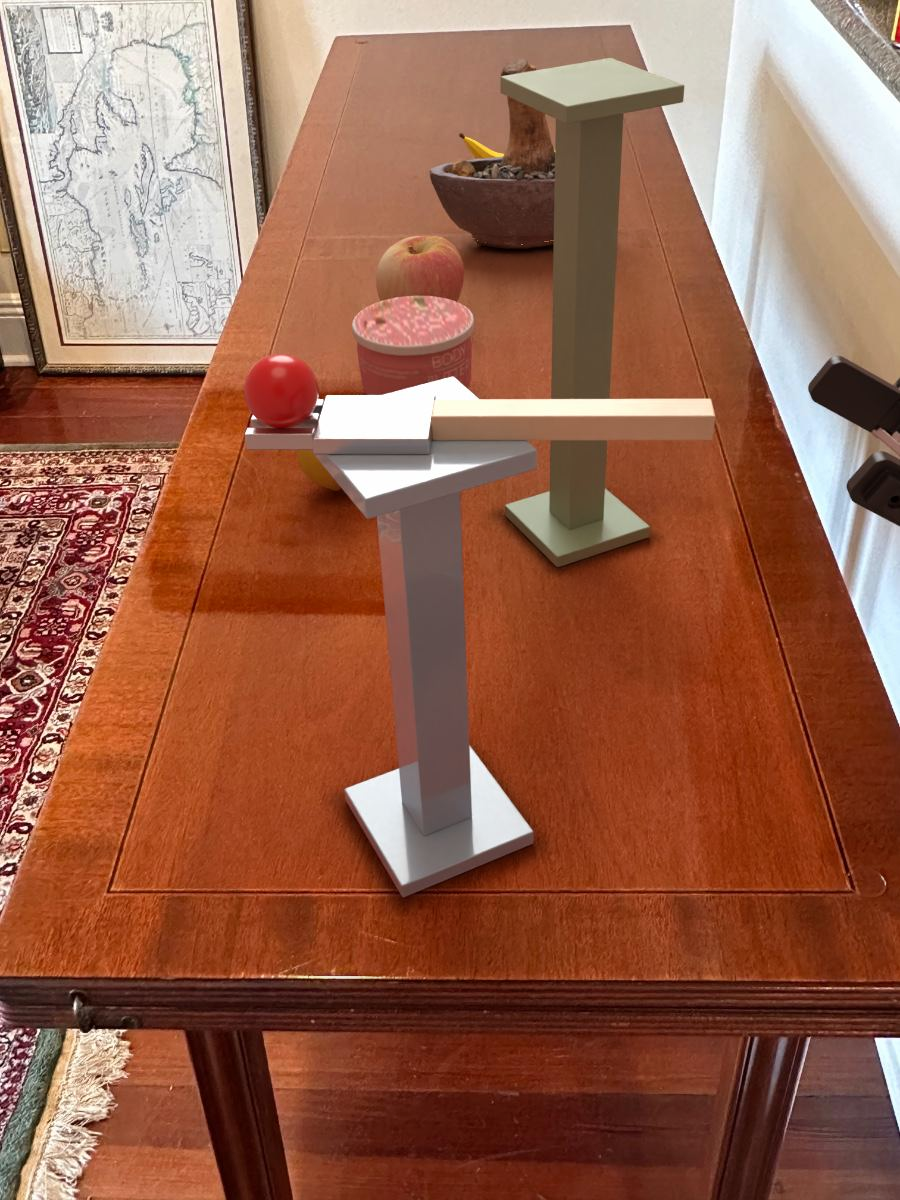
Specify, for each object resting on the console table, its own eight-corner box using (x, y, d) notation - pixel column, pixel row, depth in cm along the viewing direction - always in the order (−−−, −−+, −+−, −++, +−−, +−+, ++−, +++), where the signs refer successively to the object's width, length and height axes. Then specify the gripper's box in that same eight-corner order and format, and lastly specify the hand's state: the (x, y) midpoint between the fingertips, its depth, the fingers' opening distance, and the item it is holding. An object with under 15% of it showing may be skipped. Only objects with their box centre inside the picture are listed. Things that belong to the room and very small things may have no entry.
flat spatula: (705, 409, 53) (713, 333, 51) (716, 455, 50) (725, 377, 48) (259, 410, 54) (248, 337, 52) (242, 455, 51) (229, 379, 49)
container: (466, 371, 112) (464, 290, 107) (484, 424, 104) (483, 339, 99) (355, 382, 111) (347, 300, 106) (364, 437, 103) (356, 351, 98)
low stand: (534, 843, 66) (537, 449, 51) (402, 898, 63) (365, 499, 48) (468, 753, 72) (453, 375, 57) (345, 800, 69) (295, 416, 54)
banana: (607, 177, 154) (610, 127, 151) (461, 187, 153) (460, 136, 150) (603, 170, 157) (605, 120, 153) (459, 180, 156) (458, 130, 152)
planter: (425, 247, 137) (416, 61, 125) (528, 209, 146) (528, 32, 134) (516, 281, 128) (516, 85, 116) (620, 239, 137) (629, 52, 125)
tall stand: (649, 537, 89) (685, 84, 70) (557, 568, 86) (567, 106, 67) (592, 487, 95) (611, 57, 75) (504, 515, 92) (499, 76, 73)
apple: (468, 302, 125) (466, 226, 120) (460, 338, 118) (458, 260, 113) (386, 301, 125) (380, 226, 121) (373, 338, 118) (367, 260, 114)
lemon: (291, 504, 95) (279, 415, 90) (314, 468, 99) (303, 381, 94) (358, 511, 93) (349, 421, 88) (378, 475, 98) (371, 387, 93)
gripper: (1125, 436, 58) (860, 280, 54) (1269, 615, 47) (947, 436, 43) (1013, 545, 62) (759, 408, 58) (1120, 735, 51) (814, 581, 47)
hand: (839, 420), depth 51 cm, fingers open, 8 cm apart
